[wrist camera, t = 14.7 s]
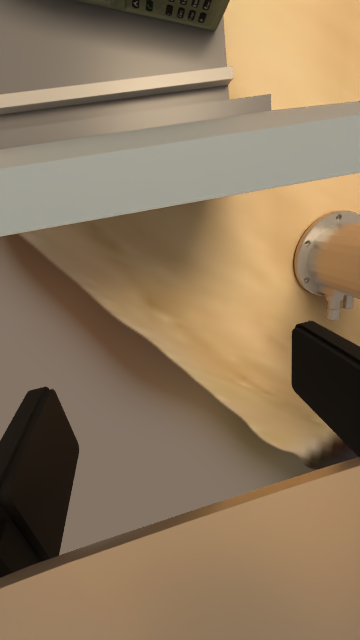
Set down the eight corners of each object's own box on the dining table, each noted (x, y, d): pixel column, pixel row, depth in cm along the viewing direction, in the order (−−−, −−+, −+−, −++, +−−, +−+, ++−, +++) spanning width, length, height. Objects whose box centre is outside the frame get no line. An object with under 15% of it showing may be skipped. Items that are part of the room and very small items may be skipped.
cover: (272, 110, 22) (270, 127, 23) (-48, 156, 20) (-38, 174, 20) (657, 69, 7) (615, 127, 7) (-672, 270, 4) (-529, 330, 5)
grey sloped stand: (229, 142, 32) (271, 111, 22) (10, 176, 29) (-46, 156, 20) (210, -106, 24) (262, -312, 15) (-90, -92, 21) (-261, -335, 12)
